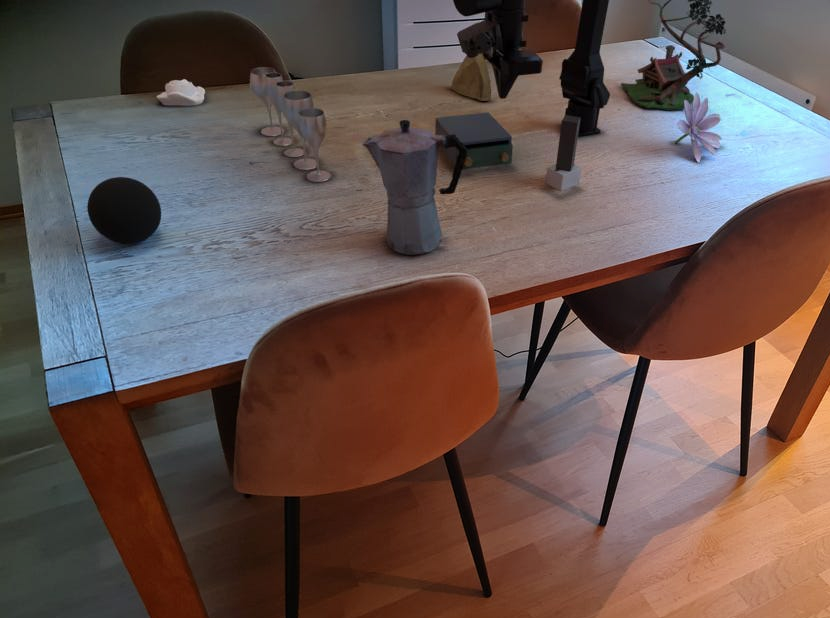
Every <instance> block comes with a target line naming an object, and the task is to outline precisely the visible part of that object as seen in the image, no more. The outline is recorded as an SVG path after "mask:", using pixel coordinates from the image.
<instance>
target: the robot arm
mask: <svg viewBox="0 0 830 618" xmlns="http://www.w3.org/2000/svg"><path fill="white" fill-rule="evenodd" d="M452 1H453V5H454V7H455V9H456V12H458V13H459V15H461V16H462V17H472V16H475V15H481V14H484V20H482V21H478V22H475V23H473V24H472V25H469V26H467V27H465V28H463V29H461V30H459V31H458V32H456V36H457V39H458V43H459V47H460V49H461V51H462V53H463V54H465V55H466V56H467V57H469V58H474V57H476V56H478V54H481V53H482V55H483V57H484V60H485V61H487V62H488V63H489V64H490V65H491V67H492V71H493V75H494V80H495V85H496V90H497V94H498V97H499V99H501V100H505V99H507V97H508V95H509V93H510V92H511V90H512V88H513V86H514V84H515V83H516V81H517V79H518V77H521V76H529V75H536V74H539V75H540V74H541V73H542V71H543V62H544V61H543V59H542V58H541V57H540V56H539V55H538V54H537V53H536V52H535V51H534V50H532V49H521V48H526V47H527V39H525V38H523V34H524V33H523V32H524V23H526V22H529V14H528V13H526V12H525V5H526V0H452ZM609 3H610V0H582V1H581V8H580V15H579V20H578V27H577V32H576V40H575V46H574V50H573V51H572V52H571V54H570V55H569V56H568V58H564V59H562V62H561V71H560V74H559V78H558V79H559V80H560V87H561V92H562V98H563V99H567V100H568V101H567V107H566V108H565V111H564V116H565V115H569V116H574V117H580V118H581V120H580V126H579V133H578V137H583V136H589V135H595V134H600V133H601V131H602V130H601V129H600V128H598V122H599V116H600V110H601V109H604V107H605V106H607V105H608V102H609V101H610V100H609V99H610V97H611V93H610V91H609V90H608V88H607V86H606V84H605V83H604V76H605V66H604V62H603V60H602V56H601V53H600V52H601V46H602V41H603V36H604V30H605V25H606V20H607V13H608V8H609ZM485 52H486V53H485Z"/></svg>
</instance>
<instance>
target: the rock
mask: <svg viewBox="0 0 830 618" xmlns="http://www.w3.org/2000/svg"><path fill="white" fill-rule="evenodd" d="M450 90H453V91H454V92H456V93H457V95H462V96H464V97H468V98H471V99H476V100H478V101H482V102H486V101H487V102H488V101H490V100H491V97H492V85H491V77H490V74H489V68H488V65H487V63H486V59H485V58H484V56H483V53H481V54H478V56H476V57H474V58H469V57H467V55H466V56H465V57H464V59H463V60H462V62H461V64H460V66H459V68H458V70H457V71H456V73H455V74H454V77H453V79H452V82H451V86H450Z"/></svg>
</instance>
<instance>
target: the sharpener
mask: <svg viewBox="0 0 830 618" xmlns="http://www.w3.org/2000/svg"><path fill="white" fill-rule="evenodd" d="M580 120H581V118H580V117H574V116H569V115H565V114H564V116H563V117H562V119H561V123H560V131H559V138H558V147H557V154H556V162H555V164H552V165H549V166H547V167H546V175H545V184H546V185H548V186H550V187H552V188H553V189H555V190H557V191H559V192H563V191H565V190H568V189H571V188H573V187H574V186H575V187H576V186H577V185H580V182H581V177H582V176H581V175H582V170H583V168H582V167H581V166H579V165H576V164H575V160H576V152H577V146H578V140H579V136H578V133H579V126H580Z"/></svg>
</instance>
